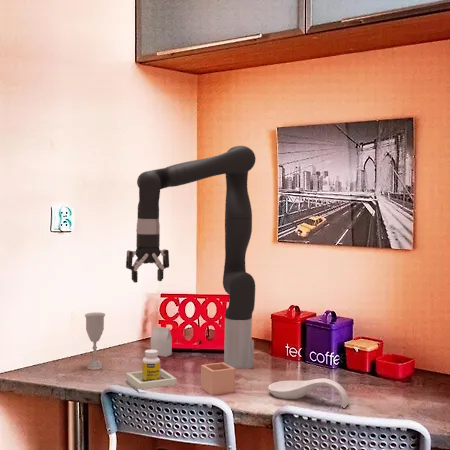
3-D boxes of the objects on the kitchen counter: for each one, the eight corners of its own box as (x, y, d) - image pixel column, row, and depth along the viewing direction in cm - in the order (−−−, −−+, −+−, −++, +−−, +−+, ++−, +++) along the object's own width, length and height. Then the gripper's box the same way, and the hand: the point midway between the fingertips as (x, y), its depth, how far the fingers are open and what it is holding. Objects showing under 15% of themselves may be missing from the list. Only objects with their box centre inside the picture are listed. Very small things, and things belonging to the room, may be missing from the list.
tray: (161, 377, 218) (161, 368, 218) (176, 387, 208) (176, 378, 208) (126, 381, 213) (126, 373, 213) (139, 392, 202) (139, 383, 202)
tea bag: (166, 356, 244) (166, 329, 244) (150, 354, 247) (150, 327, 247) (171, 354, 247) (171, 327, 247) (156, 352, 251) (156, 325, 250)
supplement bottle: (145, 385, 207) (146, 353, 206) (139, 380, 212) (139, 349, 211) (162, 383, 209) (162, 352, 209) (155, 378, 214) (156, 348, 213)
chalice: (100, 371, 224) (100, 317, 223) (80, 369, 226) (81, 316, 224) (108, 365, 231) (108, 313, 230) (89, 363, 233) (89, 311, 232)
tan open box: (222, 387, 208) (223, 362, 208) (234, 395, 202) (235, 368, 201) (200, 391, 205) (201, 365, 204) (212, 398, 198) (212, 371, 198)
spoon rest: (262, 401, 197) (262, 377, 197) (275, 390, 208) (276, 367, 208) (341, 414, 188) (342, 388, 187) (352, 401, 198) (352, 377, 198)
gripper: (131, 233, 215) (131, 284, 216) (172, 232, 222) (172, 282, 223) (123, 232, 222) (123, 281, 223) (163, 231, 228) (163, 279, 229)
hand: (147, 281), depth 223 cm, fingers open, 8 cm apart
